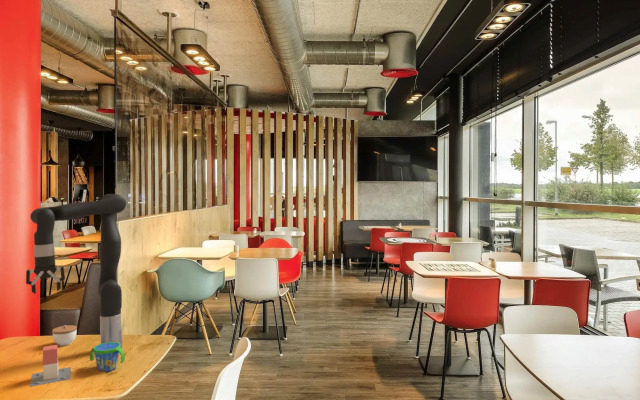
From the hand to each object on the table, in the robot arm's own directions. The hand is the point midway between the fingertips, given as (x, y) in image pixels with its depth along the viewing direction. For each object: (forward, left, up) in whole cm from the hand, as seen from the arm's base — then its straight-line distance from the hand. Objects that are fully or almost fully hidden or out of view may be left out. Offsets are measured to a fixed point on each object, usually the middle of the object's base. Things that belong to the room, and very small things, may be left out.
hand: (46, 291), depth 193 cm
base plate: (-1, +12, -34) cm, 36 cm away
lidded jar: (-5, -33, -34) cm, 48 cm away
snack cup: (-22, +13, -34) cm, 43 cm away
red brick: (-1, +12, -27) cm, 29 cm away
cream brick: (-1, +12, -33) cm, 35 cm away
